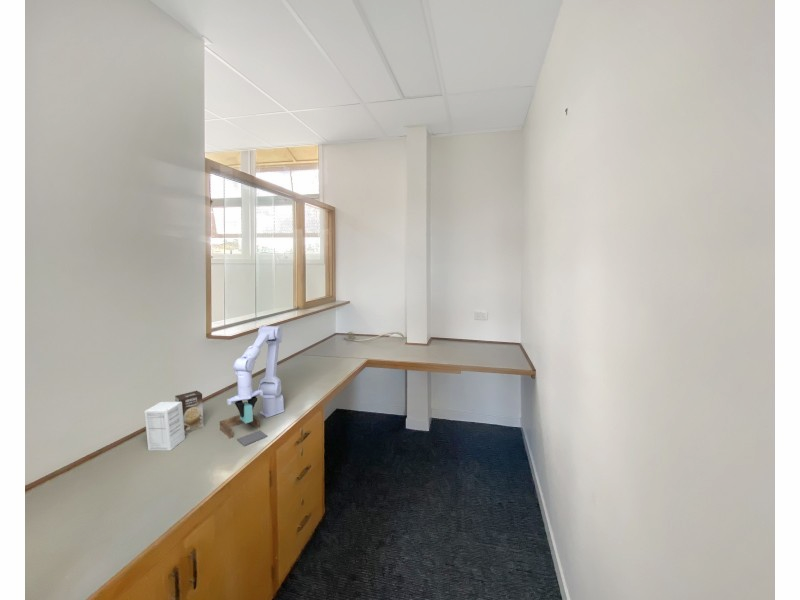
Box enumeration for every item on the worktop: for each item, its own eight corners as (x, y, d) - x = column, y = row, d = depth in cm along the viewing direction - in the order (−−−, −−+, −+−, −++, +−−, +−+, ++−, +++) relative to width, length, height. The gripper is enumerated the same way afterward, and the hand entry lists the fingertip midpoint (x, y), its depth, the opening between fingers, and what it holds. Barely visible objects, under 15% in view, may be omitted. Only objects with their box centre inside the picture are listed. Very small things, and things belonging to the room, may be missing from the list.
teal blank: (246, 416, 146) (246, 401, 146) (252, 421, 143) (252, 405, 142) (239, 418, 144) (239, 403, 143) (245, 423, 140) (245, 407, 140)
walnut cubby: (248, 419, 158) (248, 411, 157) (259, 427, 150) (259, 419, 150) (220, 429, 148) (219, 421, 147) (229, 438, 141) (229, 429, 140)
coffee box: (181, 435, 143) (179, 399, 141) (176, 430, 147) (173, 396, 145) (204, 427, 150) (202, 393, 149) (199, 422, 154) (196, 389, 153)
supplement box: (185, 438, 140) (183, 401, 138) (170, 451, 131) (167, 411, 129) (163, 438, 140) (160, 400, 138) (147, 450, 131) (143, 410, 129)
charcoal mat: (259, 431, 147) (259, 430, 147) (267, 436, 142) (267, 435, 142) (237, 440, 140) (236, 439, 139) (244, 446, 135) (244, 445, 135)
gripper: (231, 392, 134) (232, 424, 135) (265, 383, 144) (266, 412, 146) (224, 387, 138) (225, 418, 140) (258, 379, 149) (259, 407, 150)
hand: (246, 415), depth 143 cm, fingers closed on teal blank, 3 cm apart
